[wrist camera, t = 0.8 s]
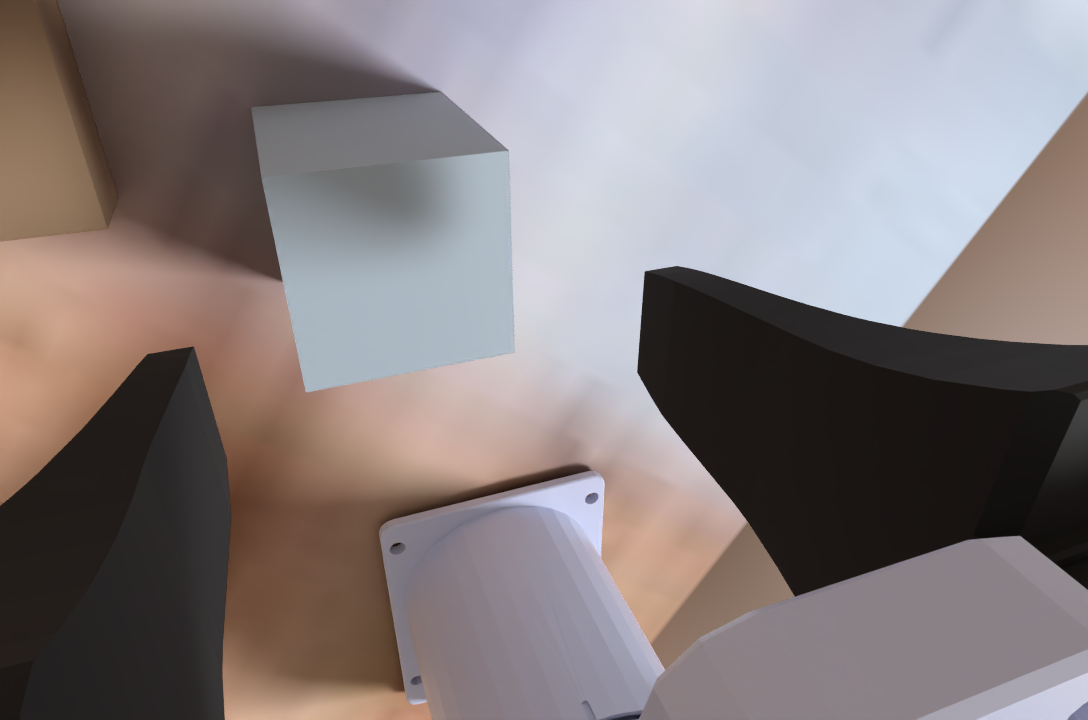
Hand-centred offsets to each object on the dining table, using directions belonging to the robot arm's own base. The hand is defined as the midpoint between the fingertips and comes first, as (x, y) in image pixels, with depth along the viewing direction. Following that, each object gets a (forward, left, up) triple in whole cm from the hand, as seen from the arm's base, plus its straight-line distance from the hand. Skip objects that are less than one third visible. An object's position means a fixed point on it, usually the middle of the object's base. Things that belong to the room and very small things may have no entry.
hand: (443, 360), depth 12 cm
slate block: (0, 0, -9) cm, 9 cm away
